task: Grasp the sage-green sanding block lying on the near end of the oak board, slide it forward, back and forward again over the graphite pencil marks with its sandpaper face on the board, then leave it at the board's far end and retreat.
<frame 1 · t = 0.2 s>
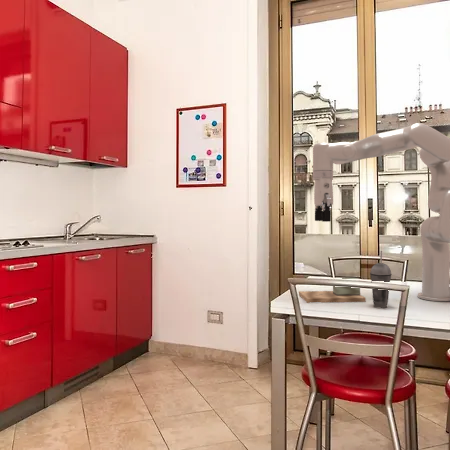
hand: (322, 221, 160), 30 cm above the table, fingers open, 9 cm apart
sanding block: (346, 294, 164), point 2 cm above the table, touching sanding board
beverage cup: (380, 307, 149), on the table
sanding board: (331, 298, 164), on the table
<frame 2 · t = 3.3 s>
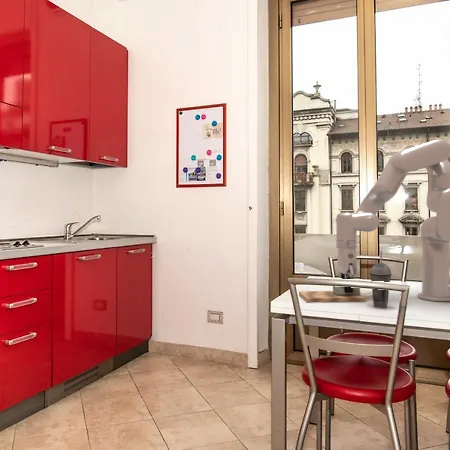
hand: (346, 290, 164), 3 cm above the table, fingers closed on sanding block, 5 cm apart
sanding block: (346, 294, 164), point 2 cm above the table, touching gripper, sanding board
everything else where it was.
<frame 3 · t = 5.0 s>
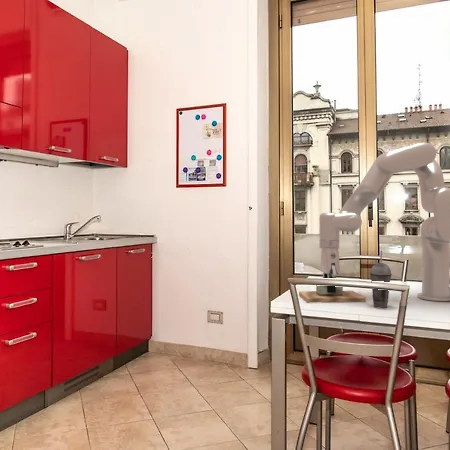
hand: (329, 290, 164), 3 cm above the table, fingers closed on sanding block, 5 cm apart
sanding block: (329, 294, 164), point 2 cm above the table, touching gripper
everything else where it was.
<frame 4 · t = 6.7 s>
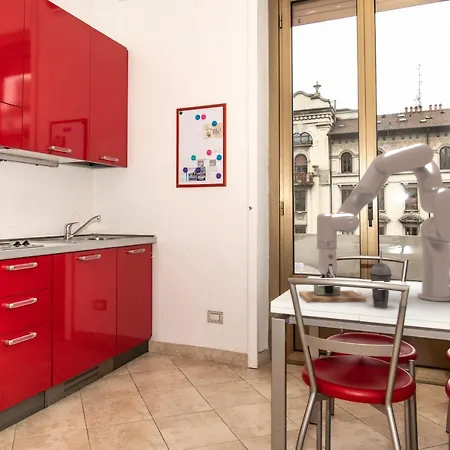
hand: (326, 291, 164), 3 cm above the table, fingers closed on sanding block, 5 cm apart
sanding block: (326, 294, 164), point 2 cm above the table, touching gripper
everything else where it was.
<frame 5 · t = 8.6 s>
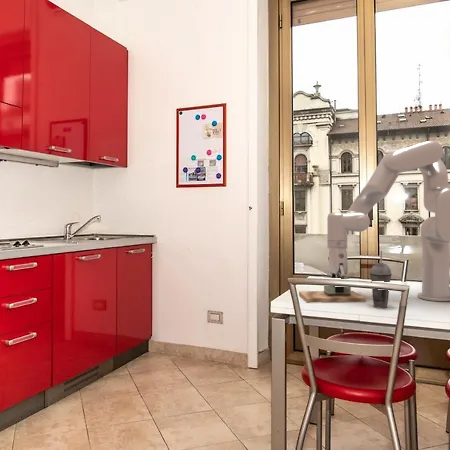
hand: (337, 290, 164), 3 cm above the table, fingers closed on sanding block, 5 cm apart
sanding block: (337, 293, 164), point 2 cm above the table, touching gripper
everything else where it was.
when the fingers open (3 cm above the table, at t = 10.2 s): sanding block stays where it is, resting on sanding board.
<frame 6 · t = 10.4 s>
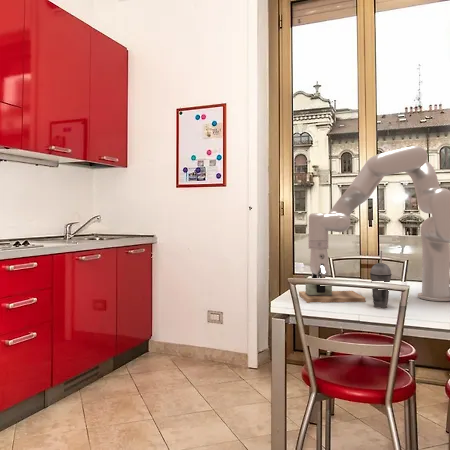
hand: (318, 290, 164), 3 cm above the table, fingers open, 6 cm apart
sanding block: (318, 294, 164), point 2 cm above the table, touching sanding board
everything else where it was.
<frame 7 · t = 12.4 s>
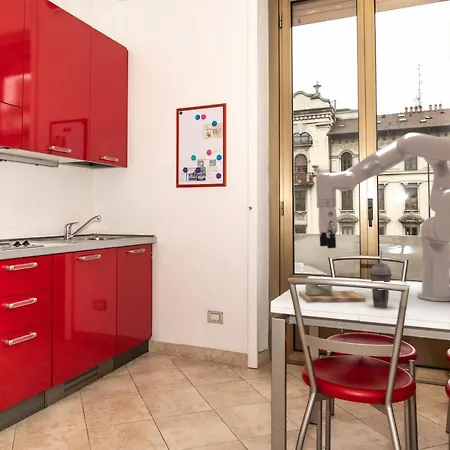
hand: (327, 247, 167), 20 cm above the table, fingers open, 9 cm apart
nothing on the table moved.
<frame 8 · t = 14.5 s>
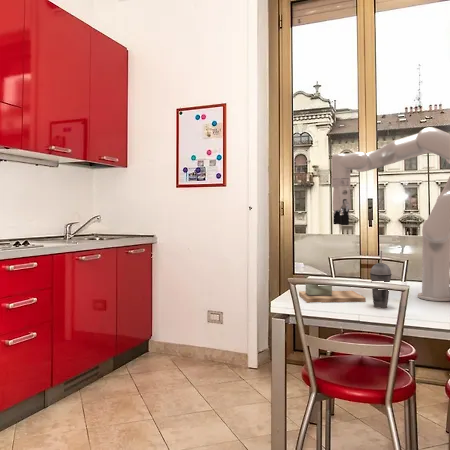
hand: (340, 224, 176), 28 cm above the table, fingers open, 9 cm apart
nothing on the table moved.
at the end: sanding block 0.1 cm from the target spot on the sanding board, point 1.5 cm above the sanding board's base; sanding block tilted 0°; the gripper is holding nothing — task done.
